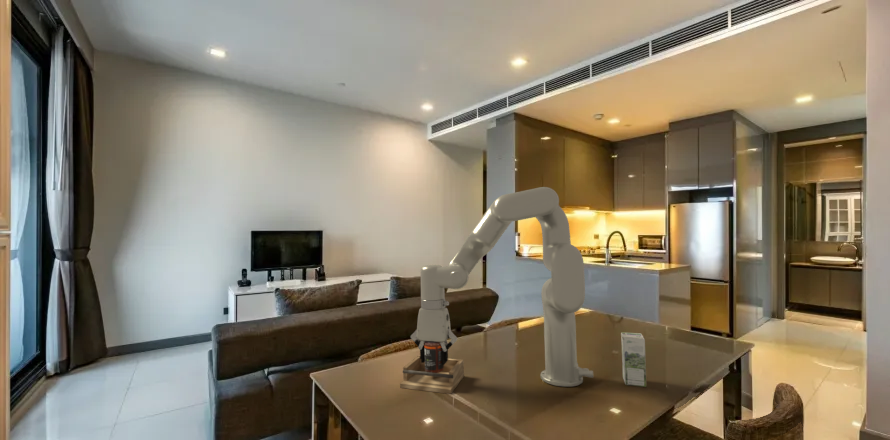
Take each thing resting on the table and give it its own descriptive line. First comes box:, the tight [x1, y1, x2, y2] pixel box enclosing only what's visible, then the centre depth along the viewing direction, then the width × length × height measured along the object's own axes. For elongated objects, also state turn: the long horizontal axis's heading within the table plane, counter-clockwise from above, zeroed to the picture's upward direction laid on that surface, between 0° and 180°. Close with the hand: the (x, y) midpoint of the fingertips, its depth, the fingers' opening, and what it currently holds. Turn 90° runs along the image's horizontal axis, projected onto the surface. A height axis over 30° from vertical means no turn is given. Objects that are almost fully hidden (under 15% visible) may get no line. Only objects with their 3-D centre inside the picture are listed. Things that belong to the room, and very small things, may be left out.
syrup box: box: [620, 332, 647, 388], centre depth 110 cm, size 6×6×14 cm
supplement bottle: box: [424, 341, 444, 373], centre depth 114 cm, size 6×6×11 cm
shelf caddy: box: [399, 355, 465, 395], centre depth 113 cm, size 16×14×5 cm
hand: (434, 361), depth 114 cm, fingers open, 6 cm apart
